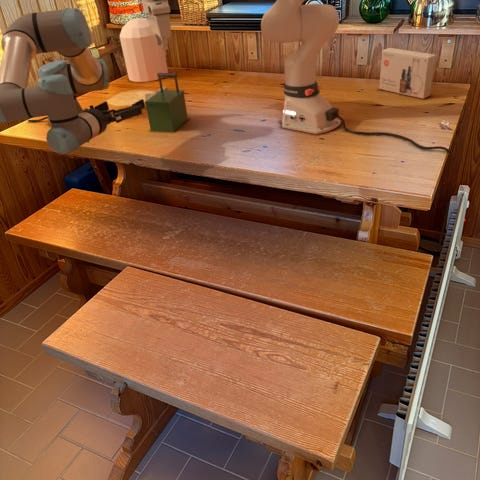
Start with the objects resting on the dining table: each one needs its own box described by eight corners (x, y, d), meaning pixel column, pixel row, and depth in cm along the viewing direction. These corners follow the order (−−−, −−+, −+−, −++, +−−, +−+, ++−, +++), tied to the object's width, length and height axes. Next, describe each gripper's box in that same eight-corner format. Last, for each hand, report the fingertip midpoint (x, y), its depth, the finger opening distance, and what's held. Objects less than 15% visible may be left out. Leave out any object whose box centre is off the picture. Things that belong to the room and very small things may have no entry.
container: (160, 81, 233) (149, 21, 217) (121, 82, 238) (108, 23, 222) (174, 69, 249) (165, 13, 233) (138, 70, 254) (126, 15, 238)
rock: (145, 102, 210) (147, 105, 201) (142, 87, 208) (144, 90, 199) (168, 98, 212) (171, 101, 203) (166, 84, 210) (168, 86, 201)
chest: (166, 118, 188) (161, 92, 182) (187, 119, 185) (183, 93, 179) (150, 130, 177) (145, 104, 172) (173, 131, 174) (169, 105, 169)
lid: (162, 92, 182) (158, 71, 178) (184, 92, 179) (181, 71, 175) (145, 104, 172) (140, 81, 167) (168, 104, 169) (165, 82, 164)
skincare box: (377, 89, 194) (381, 50, 185) (385, 86, 197) (389, 47, 188) (423, 99, 180) (429, 56, 171) (430, 95, 183) (437, 53, 174)
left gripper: (57, 138, 140) (95, 117, 157) (129, 136, 132) (161, 114, 149) (49, 113, 136) (89, 95, 153) (123, 109, 128) (156, 90, 145)
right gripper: (141, 3, 168) (148, 43, 176) (152, 10, 152) (160, 54, 160) (158, 1, 170) (164, 41, 178) (171, 7, 154) (177, 51, 162)
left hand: (125, 104), depth 151 cm, fingers open, 13 cm apart
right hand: (162, 47), depth 169 cm, fingers open, 8 cm apart
